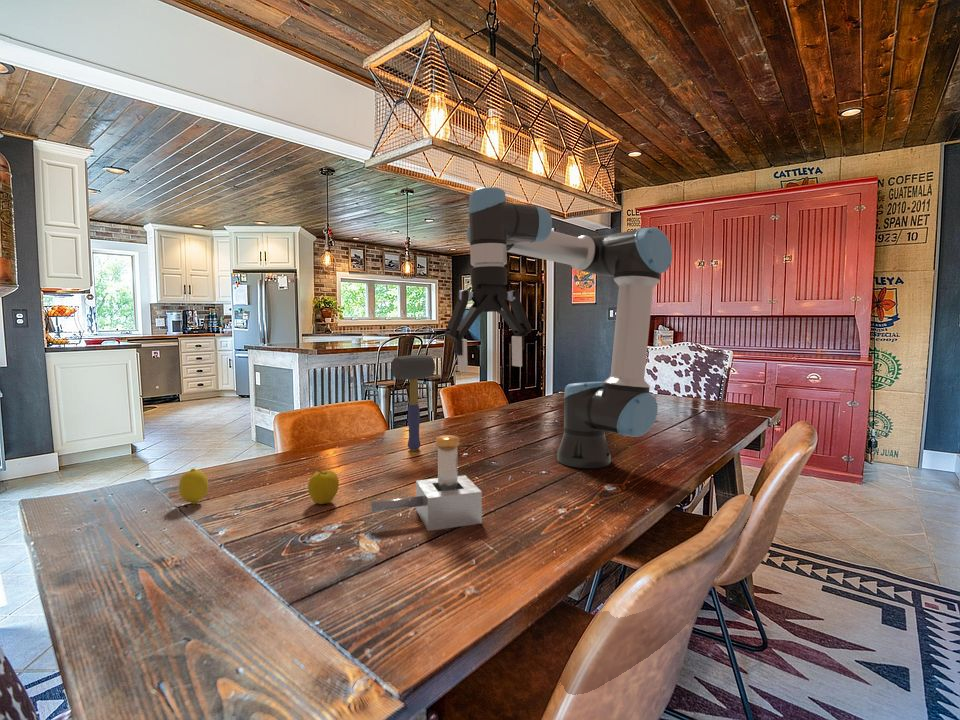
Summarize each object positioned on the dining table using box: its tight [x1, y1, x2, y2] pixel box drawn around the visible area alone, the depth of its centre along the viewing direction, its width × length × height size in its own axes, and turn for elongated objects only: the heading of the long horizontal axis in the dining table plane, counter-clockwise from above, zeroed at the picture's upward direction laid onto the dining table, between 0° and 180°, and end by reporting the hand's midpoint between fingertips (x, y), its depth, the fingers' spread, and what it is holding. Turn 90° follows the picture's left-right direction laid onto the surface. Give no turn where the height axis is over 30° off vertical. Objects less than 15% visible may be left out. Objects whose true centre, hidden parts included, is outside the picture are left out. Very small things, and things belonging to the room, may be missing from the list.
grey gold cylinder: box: [435, 434, 460, 492], centre depth 100 cm, size 5×5×14 cm
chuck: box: [370, 475, 483, 532], centre depth 98 cm, size 21×11×6 cm, turn 109°
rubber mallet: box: [390, 354, 436, 452], centre depth 151 cm, size 12×8×30 cm, turn 126°
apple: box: [307, 470, 340, 505], centre depth 107 cm, size 6×6×8 cm
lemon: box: [178, 468, 209, 505], centre depth 107 cm, size 6×6×8 cm
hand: (490, 368), depth 102 cm, fingers open, 13 cm apart
